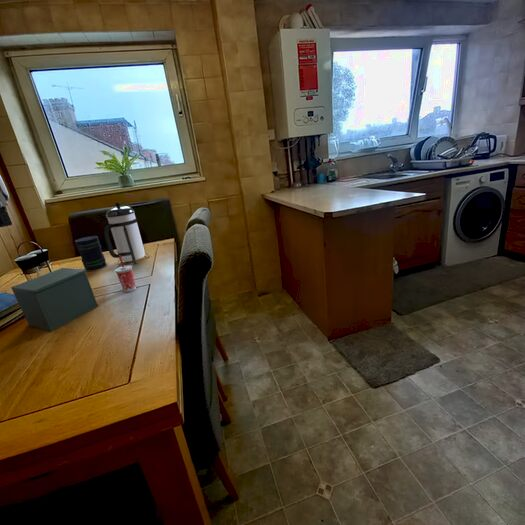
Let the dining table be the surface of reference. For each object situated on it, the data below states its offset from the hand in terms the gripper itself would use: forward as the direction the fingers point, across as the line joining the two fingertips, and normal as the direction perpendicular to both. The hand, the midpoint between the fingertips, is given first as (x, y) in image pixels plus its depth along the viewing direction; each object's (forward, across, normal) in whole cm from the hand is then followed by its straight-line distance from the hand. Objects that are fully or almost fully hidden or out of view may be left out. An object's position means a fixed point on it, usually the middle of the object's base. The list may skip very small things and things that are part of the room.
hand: (5, 225), depth 83 cm
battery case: (+31, +7, +3) cm, 32 cm away
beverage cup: (+31, +14, +24) cm, 42 cm away
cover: (+18, +7, +3) cm, 20 cm away
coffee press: (+31, -14, +50) cm, 61 cm away
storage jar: (+32, -29, +40) cm, 59 cm away
